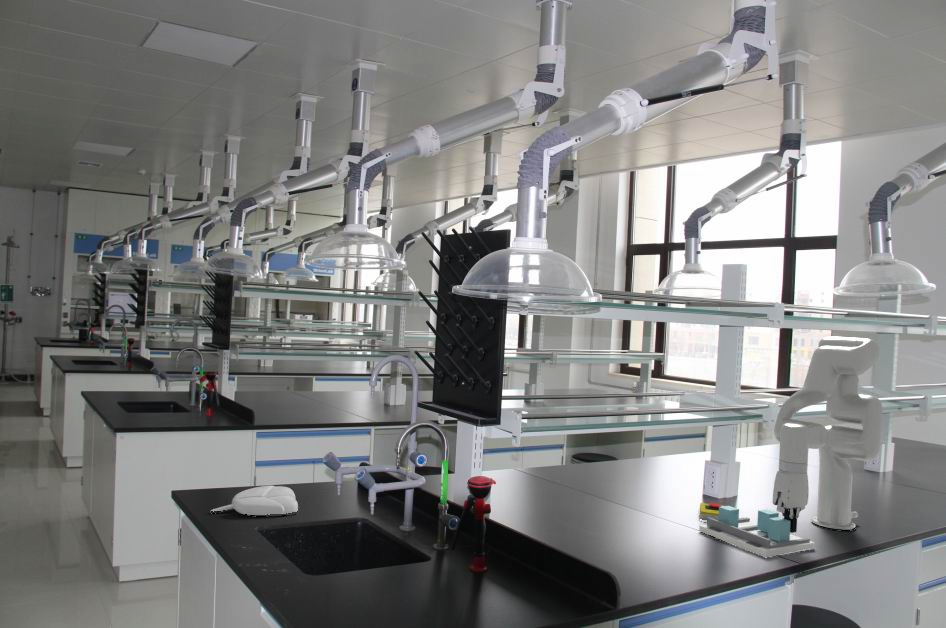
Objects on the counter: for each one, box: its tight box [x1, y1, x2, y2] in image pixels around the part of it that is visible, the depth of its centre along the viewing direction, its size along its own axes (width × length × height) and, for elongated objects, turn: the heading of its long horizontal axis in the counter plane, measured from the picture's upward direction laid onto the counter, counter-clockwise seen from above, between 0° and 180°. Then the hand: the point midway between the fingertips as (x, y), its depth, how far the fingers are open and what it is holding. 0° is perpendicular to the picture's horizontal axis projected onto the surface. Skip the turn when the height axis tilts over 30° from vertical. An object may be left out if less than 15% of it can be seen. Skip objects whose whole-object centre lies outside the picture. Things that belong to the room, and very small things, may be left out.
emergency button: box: [699, 502, 723, 520], centre depth 232 cm, size 9×4×15 cm
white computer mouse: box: [210, 485, 299, 516], centre depth 216 cm, size 7×17×25 cm
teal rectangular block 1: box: [718, 505, 740, 528], centre depth 214 cm, size 4×4×6 cm
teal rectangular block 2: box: [768, 516, 791, 542], centre depth 203 cm, size 4×4×6 cm
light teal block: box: [757, 508, 780, 533], centre depth 211 cm, size 4×4×6 cm
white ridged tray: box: [698, 517, 816, 558], centre depth 209 cm, size 20×24×4 cm
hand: (789, 531), depth 206 cm, fingers closed
